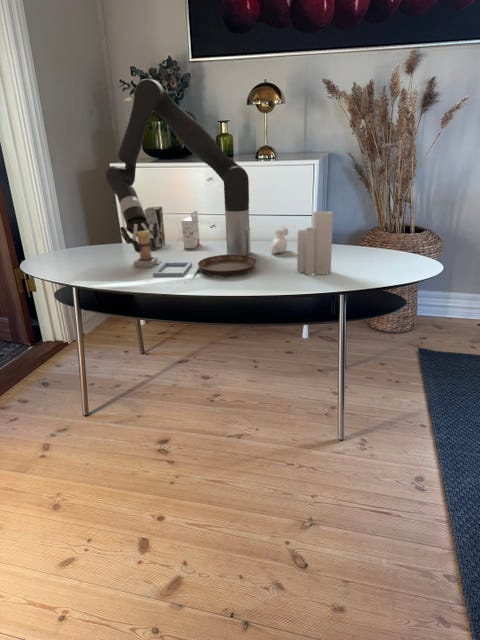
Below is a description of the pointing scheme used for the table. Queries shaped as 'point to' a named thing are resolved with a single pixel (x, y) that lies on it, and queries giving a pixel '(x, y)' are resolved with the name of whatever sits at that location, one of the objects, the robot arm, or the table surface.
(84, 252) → the table surface
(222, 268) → the plant saucer
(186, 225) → the ink cartridge box
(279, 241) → the bust
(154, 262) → the fuse block
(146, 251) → the cylinder
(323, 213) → the vase
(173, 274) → the parts tray
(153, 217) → the coffee box
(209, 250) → the table surface
